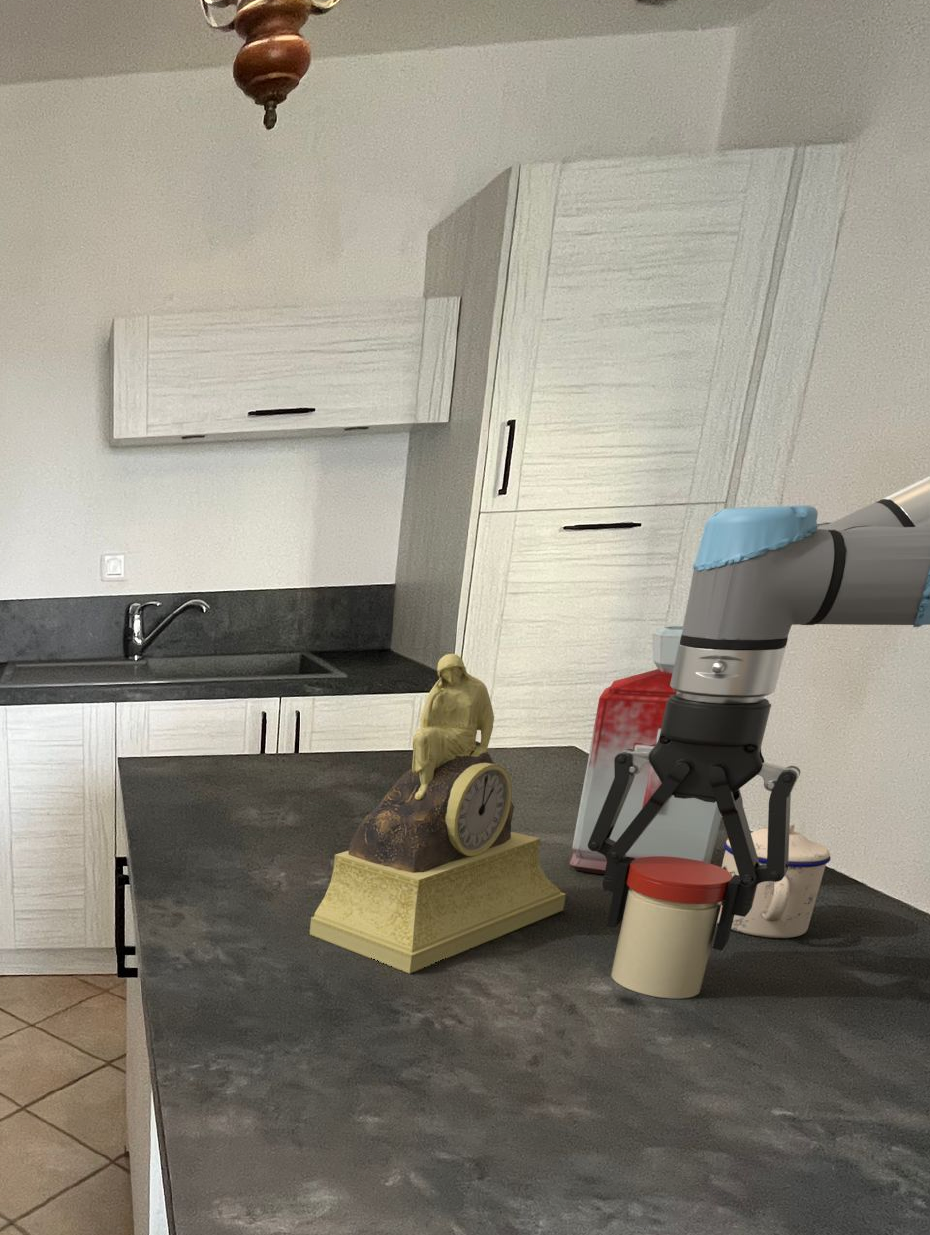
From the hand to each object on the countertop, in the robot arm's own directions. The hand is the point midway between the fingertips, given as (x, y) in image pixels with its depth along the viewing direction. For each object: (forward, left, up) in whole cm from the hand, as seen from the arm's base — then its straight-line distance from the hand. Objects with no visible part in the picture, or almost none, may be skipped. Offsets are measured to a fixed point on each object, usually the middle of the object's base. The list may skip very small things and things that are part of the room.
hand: (665, 933), depth 94 cm
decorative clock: (+21, -6, -5) cm, 22 cm away
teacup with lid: (-9, -20, -5) cm, 23 cm away
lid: (0, 0, +6) cm, 6 cm away
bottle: (+3, -35, -5) cm, 36 cm away
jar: (0, 0, -5) cm, 5 cm away
